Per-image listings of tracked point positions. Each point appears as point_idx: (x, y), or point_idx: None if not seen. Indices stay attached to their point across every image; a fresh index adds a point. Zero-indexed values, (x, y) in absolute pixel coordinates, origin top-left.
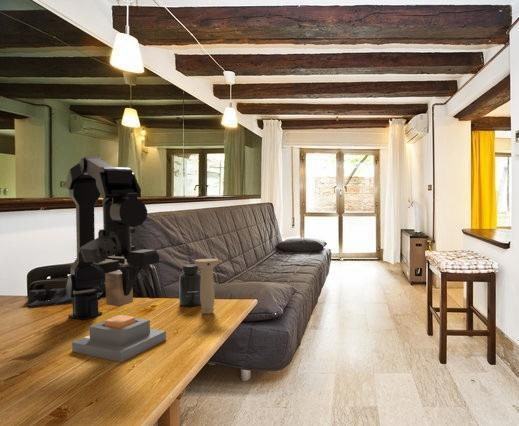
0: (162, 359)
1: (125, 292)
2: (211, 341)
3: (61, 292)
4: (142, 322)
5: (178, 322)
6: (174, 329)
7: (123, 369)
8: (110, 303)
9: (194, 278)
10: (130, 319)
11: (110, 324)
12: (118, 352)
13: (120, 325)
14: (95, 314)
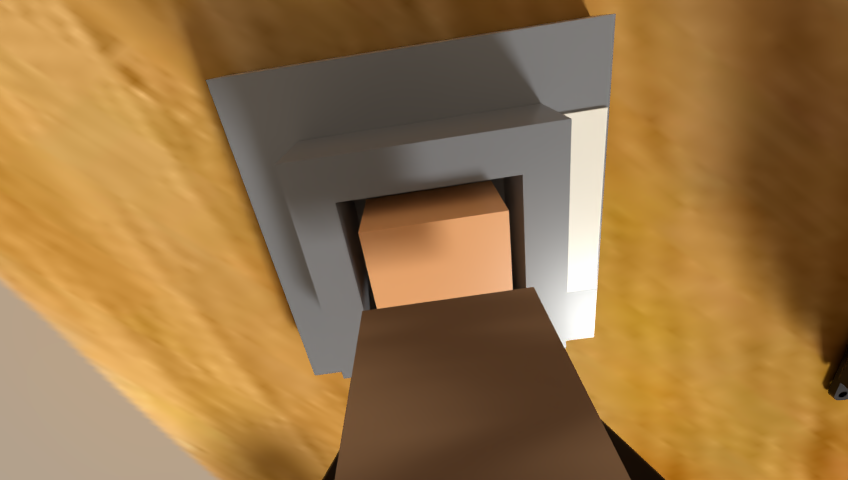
0: (121, 207)
1: (332, 464)
2: (167, 412)
3: None
4: (338, 338)
5: None
6: None
7: (128, 19)
8: (479, 304)
9: None
10: None
11: (447, 209)
12: (226, 77)
13: (361, 227)
14: (844, 368)
